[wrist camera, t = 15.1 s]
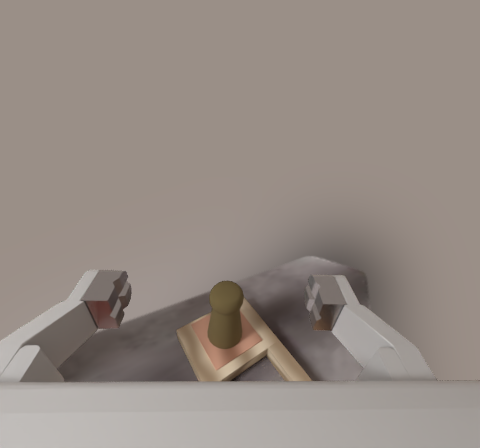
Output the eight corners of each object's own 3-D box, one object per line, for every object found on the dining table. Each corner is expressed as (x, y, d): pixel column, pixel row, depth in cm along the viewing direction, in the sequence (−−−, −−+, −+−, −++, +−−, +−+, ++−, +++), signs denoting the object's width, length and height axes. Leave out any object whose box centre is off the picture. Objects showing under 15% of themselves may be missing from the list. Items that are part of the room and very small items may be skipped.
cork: (199, 335, 42) (197, 293, 35) (221, 310, 46) (223, 269, 39) (228, 356, 39) (231, 315, 33) (248, 328, 43) (255, 287, 37)
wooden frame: (249, 486, 29) (251, 481, 28) (177, 337, 44) (176, 329, 42) (326, 409, 36) (331, 402, 35) (241, 303, 51) (242, 294, 49)
